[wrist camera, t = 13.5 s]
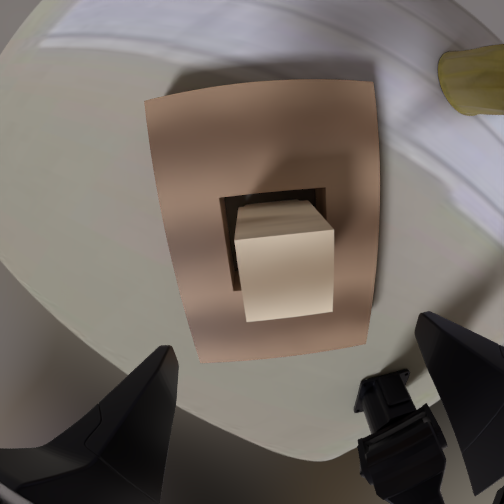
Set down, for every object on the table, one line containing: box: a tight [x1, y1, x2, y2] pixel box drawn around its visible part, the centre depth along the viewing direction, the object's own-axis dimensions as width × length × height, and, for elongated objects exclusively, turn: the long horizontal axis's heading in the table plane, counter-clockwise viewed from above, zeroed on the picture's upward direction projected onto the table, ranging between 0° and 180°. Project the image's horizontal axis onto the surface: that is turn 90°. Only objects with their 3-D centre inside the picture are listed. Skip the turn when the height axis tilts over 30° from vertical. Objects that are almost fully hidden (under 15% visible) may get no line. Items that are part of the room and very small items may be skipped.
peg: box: [234, 199, 334, 322], centre depth 17 cm, size 4×4×8 cm
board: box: [144, 79, 380, 363], centre depth 19 cm, size 20×14×3 cm
